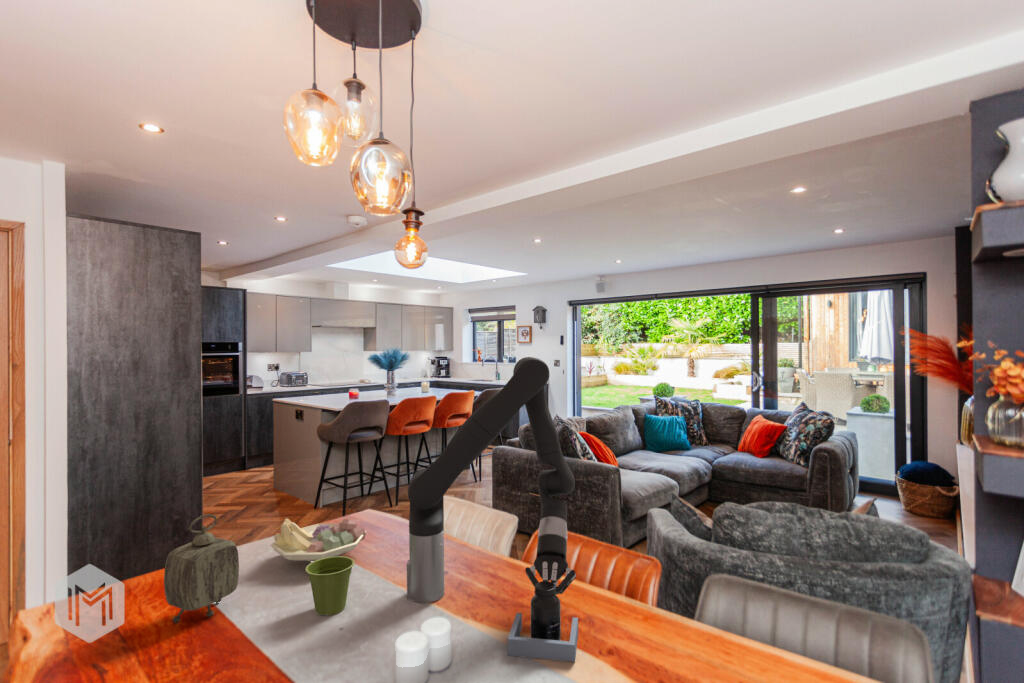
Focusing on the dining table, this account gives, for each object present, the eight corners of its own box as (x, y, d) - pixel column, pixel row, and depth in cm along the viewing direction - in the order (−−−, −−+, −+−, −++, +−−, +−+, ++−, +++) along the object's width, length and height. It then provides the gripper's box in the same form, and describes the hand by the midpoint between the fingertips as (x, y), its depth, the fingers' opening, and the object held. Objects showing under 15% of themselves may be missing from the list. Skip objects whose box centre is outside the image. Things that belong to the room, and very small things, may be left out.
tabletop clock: (220, 598, 137) (220, 505, 138) (243, 605, 133) (242, 509, 134) (164, 625, 124) (163, 521, 125) (186, 633, 120) (186, 527, 121)
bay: (507, 655, 110) (507, 638, 110) (517, 627, 121) (516, 612, 121) (574, 662, 107) (574, 645, 107) (578, 632, 118) (578, 617, 118)
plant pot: (364, 602, 134) (364, 559, 134) (331, 625, 123) (330, 578, 123) (330, 594, 139) (330, 552, 139) (295, 615, 128) (294, 570, 128)
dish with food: (252, 562, 159) (254, 517, 159) (330, 535, 182) (331, 496, 182) (305, 590, 143) (307, 540, 143) (383, 557, 166) (385, 514, 166)
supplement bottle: (558, 649, 111) (557, 594, 112) (527, 645, 113) (526, 590, 114) (563, 632, 118) (562, 580, 118) (534, 629, 120) (533, 577, 120)
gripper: (525, 531, 130) (518, 603, 118) (577, 533, 128) (575, 607, 116) (528, 544, 136) (522, 614, 123) (578, 546, 133) (577, 618, 121)
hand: (548, 611), depth 120 cm, fingers closed
